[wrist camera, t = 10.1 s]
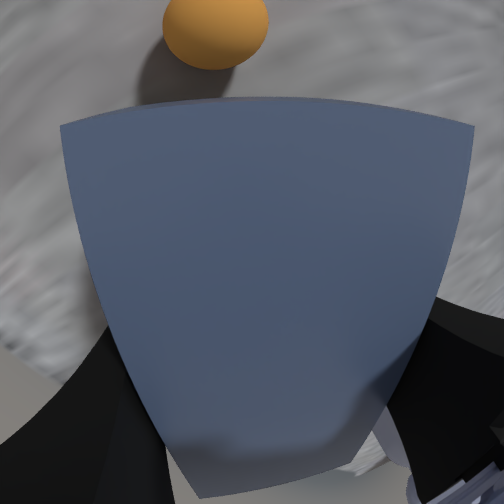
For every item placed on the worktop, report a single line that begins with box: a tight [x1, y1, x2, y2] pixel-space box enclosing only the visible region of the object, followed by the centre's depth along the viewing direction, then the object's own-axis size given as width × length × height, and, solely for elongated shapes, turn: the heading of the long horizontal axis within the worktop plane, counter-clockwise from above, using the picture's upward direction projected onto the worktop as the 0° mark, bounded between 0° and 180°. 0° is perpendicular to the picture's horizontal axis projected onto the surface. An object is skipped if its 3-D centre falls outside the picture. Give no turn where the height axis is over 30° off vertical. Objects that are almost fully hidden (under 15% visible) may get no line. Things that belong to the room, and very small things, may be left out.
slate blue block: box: [60, 97, 475, 499], centre depth 8 cm, size 12×6×5 cm, turn 1°
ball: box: [163, 0, 269, 70], centre depth 8 cm, size 4×4×4 cm
